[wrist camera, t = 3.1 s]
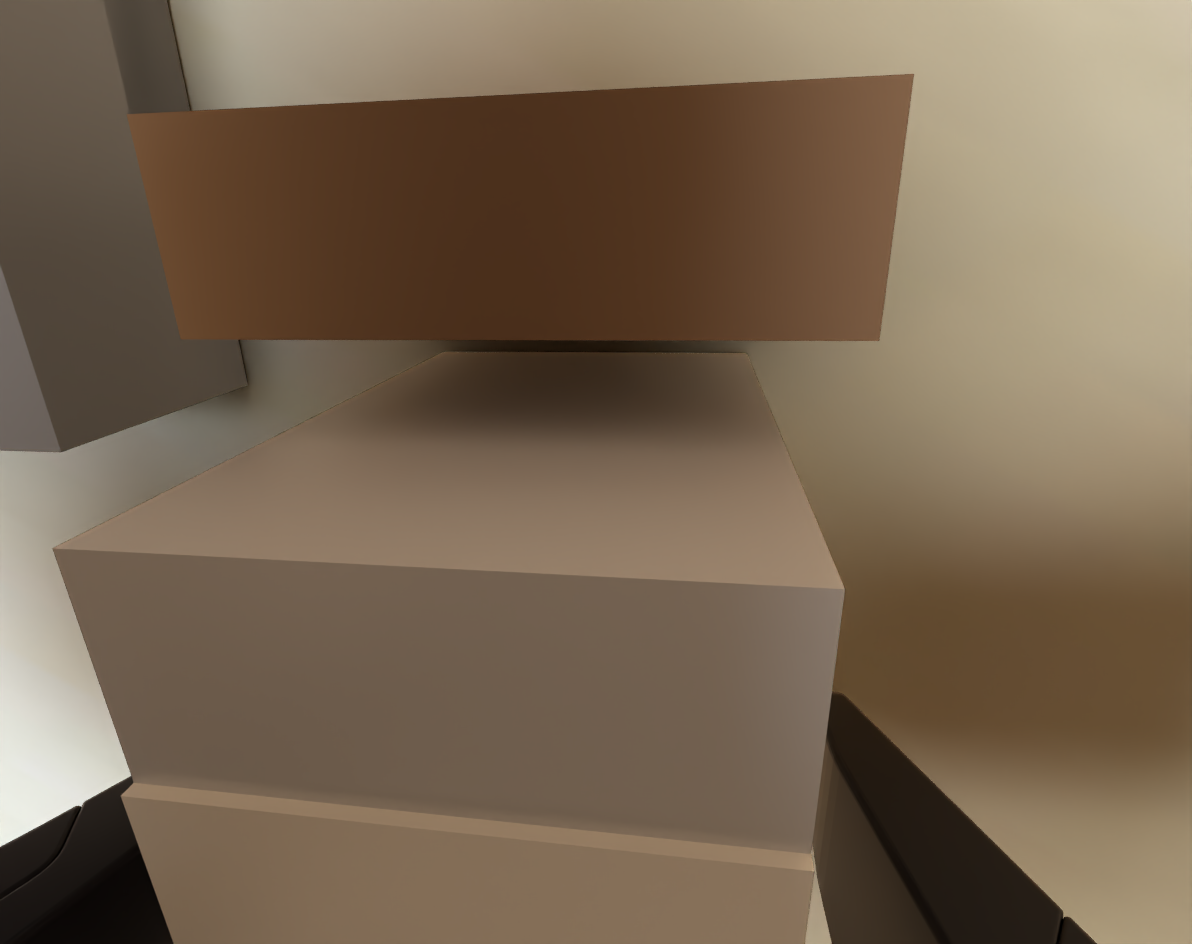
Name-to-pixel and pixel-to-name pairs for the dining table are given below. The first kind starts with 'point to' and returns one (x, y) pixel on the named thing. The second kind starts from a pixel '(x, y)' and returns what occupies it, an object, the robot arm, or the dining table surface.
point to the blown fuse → (479, 663)
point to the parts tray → (88, 229)
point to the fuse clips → (534, 214)
